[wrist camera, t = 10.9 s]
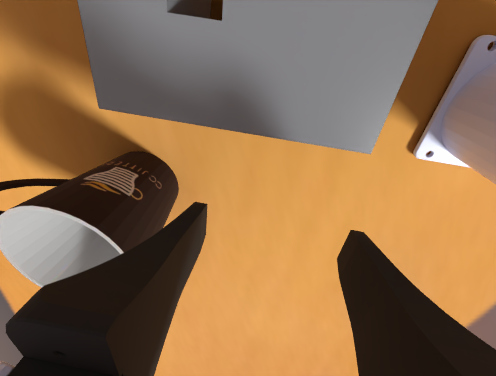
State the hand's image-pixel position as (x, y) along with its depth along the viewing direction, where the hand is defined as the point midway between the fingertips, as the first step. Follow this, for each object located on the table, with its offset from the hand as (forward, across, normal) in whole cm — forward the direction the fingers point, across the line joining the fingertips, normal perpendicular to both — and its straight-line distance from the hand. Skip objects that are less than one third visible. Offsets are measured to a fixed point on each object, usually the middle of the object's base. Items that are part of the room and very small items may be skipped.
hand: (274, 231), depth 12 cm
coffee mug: (+10, +13, +4) cm, 17 cm away
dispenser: (+9, +3, -8) cm, 13 cm away
